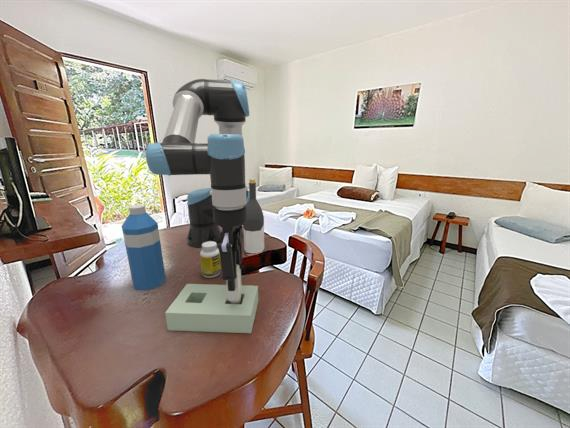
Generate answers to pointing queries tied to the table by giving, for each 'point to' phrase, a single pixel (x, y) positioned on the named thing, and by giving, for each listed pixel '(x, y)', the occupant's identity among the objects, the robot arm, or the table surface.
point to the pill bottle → (210, 260)
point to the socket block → (212, 309)
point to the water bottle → (143, 249)
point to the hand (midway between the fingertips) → (234, 295)
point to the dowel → (238, 286)
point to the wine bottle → (253, 223)
